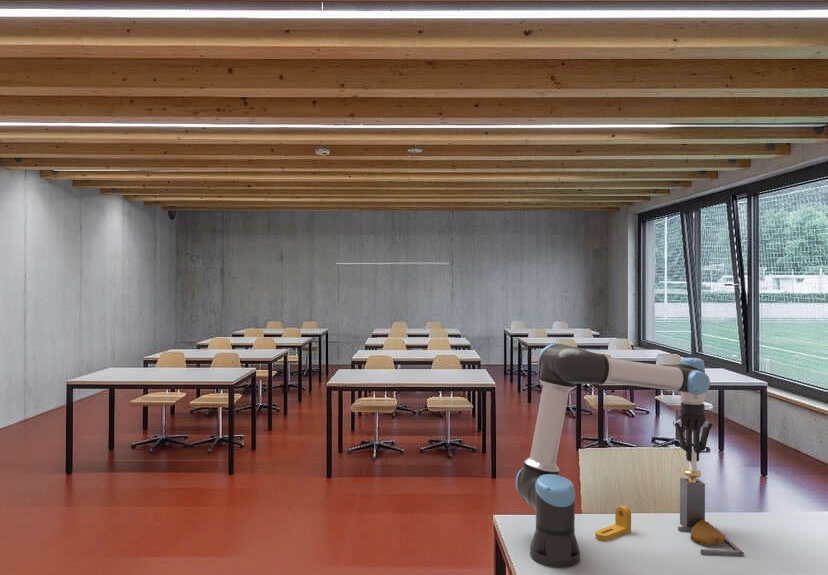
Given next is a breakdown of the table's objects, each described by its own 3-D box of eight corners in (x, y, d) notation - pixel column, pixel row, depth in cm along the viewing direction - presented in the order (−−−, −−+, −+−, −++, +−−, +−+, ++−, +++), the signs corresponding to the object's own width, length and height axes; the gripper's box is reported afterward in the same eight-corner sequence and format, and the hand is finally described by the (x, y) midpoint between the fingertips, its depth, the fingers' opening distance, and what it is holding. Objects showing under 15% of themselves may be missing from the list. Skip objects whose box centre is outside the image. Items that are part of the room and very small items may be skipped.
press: (701, 554, 181) (702, 503, 181) (671, 523, 206) (671, 477, 206) (743, 556, 180) (743, 504, 180) (707, 524, 205) (707, 478, 205)
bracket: (619, 527, 202) (620, 503, 202) (631, 532, 198) (631, 507, 198) (592, 538, 193) (592, 513, 193) (603, 542, 189) (603, 517, 190)
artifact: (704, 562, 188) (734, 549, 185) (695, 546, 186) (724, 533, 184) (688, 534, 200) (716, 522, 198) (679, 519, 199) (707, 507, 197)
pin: (687, 497, 200) (687, 473, 200) (681, 492, 205) (681, 468, 205) (703, 498, 200) (703, 473, 200) (696, 492, 205) (696, 468, 205)
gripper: (677, 404, 199) (677, 473, 199) (716, 404, 199) (716, 474, 198) (669, 400, 207) (669, 466, 207) (707, 400, 206) (707, 467, 206)
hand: (692, 470), depth 203 cm, fingers closed
